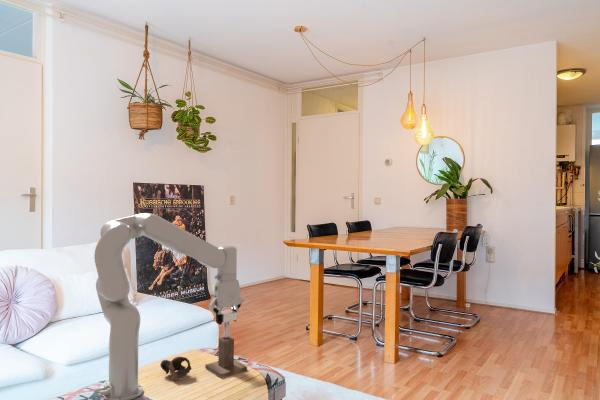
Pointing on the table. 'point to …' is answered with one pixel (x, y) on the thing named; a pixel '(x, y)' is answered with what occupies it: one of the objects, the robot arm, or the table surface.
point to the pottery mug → (176, 367)
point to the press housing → (226, 360)
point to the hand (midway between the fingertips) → (226, 321)
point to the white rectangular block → (226, 317)
